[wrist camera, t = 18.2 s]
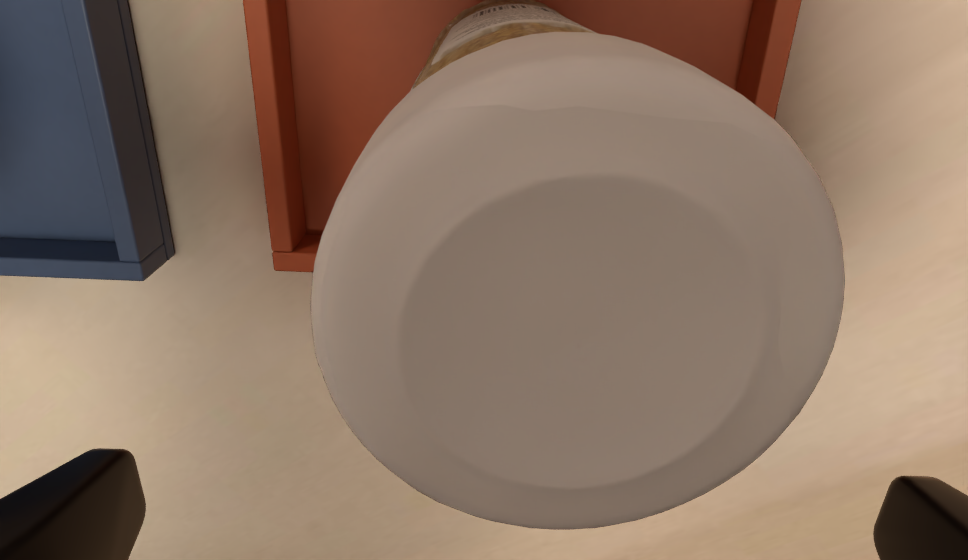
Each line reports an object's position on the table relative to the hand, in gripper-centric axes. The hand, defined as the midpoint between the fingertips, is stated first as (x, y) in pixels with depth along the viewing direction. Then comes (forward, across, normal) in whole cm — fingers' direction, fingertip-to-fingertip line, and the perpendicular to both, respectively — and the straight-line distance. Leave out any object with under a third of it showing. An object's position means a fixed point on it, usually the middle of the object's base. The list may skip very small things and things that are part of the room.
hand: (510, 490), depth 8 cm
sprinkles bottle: (+12, 0, -3) cm, 13 cm away
